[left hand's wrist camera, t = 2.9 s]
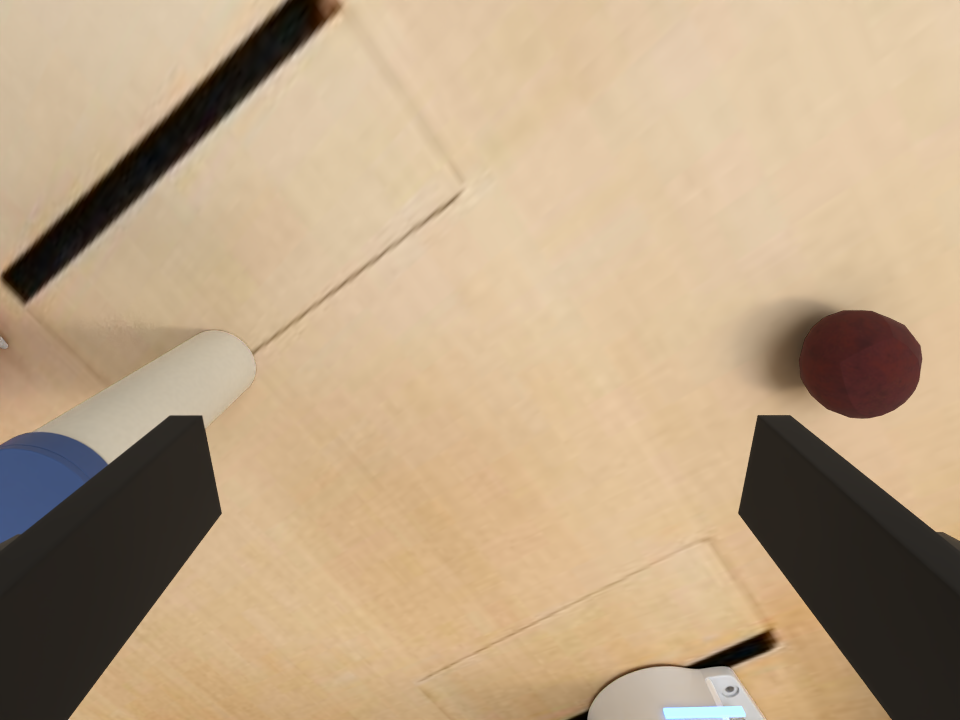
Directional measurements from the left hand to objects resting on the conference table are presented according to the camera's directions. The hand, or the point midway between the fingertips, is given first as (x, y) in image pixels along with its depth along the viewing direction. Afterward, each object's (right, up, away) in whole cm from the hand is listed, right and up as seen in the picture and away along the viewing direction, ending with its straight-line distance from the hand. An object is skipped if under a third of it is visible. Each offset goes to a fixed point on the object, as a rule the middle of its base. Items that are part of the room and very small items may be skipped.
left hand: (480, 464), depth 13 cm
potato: (+27, +4, +28) cm, 39 cm away
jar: (-20, +2, +29) cm, 36 cm away
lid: (-20, -4, +12) cm, 24 cm away
